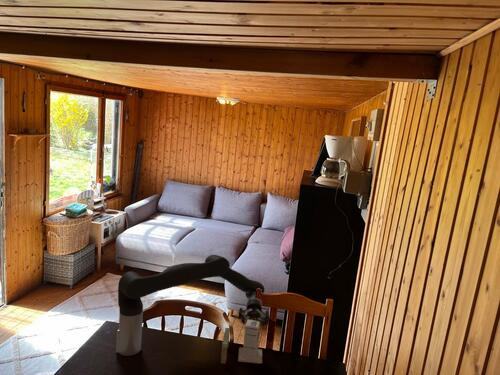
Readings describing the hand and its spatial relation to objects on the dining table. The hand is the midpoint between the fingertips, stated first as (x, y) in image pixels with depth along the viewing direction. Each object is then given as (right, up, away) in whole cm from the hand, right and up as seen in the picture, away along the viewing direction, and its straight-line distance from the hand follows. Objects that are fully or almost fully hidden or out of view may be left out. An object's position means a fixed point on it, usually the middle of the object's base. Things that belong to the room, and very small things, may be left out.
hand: (253, 322), depth 159 cm
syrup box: (-2, -11, -7) cm, 13 cm away
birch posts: (-12, -11, -6) cm, 18 cm away
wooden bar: (-12, -4, -7) cm, 14 cm away
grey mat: (-1, -12, -6) cm, 14 cm away
